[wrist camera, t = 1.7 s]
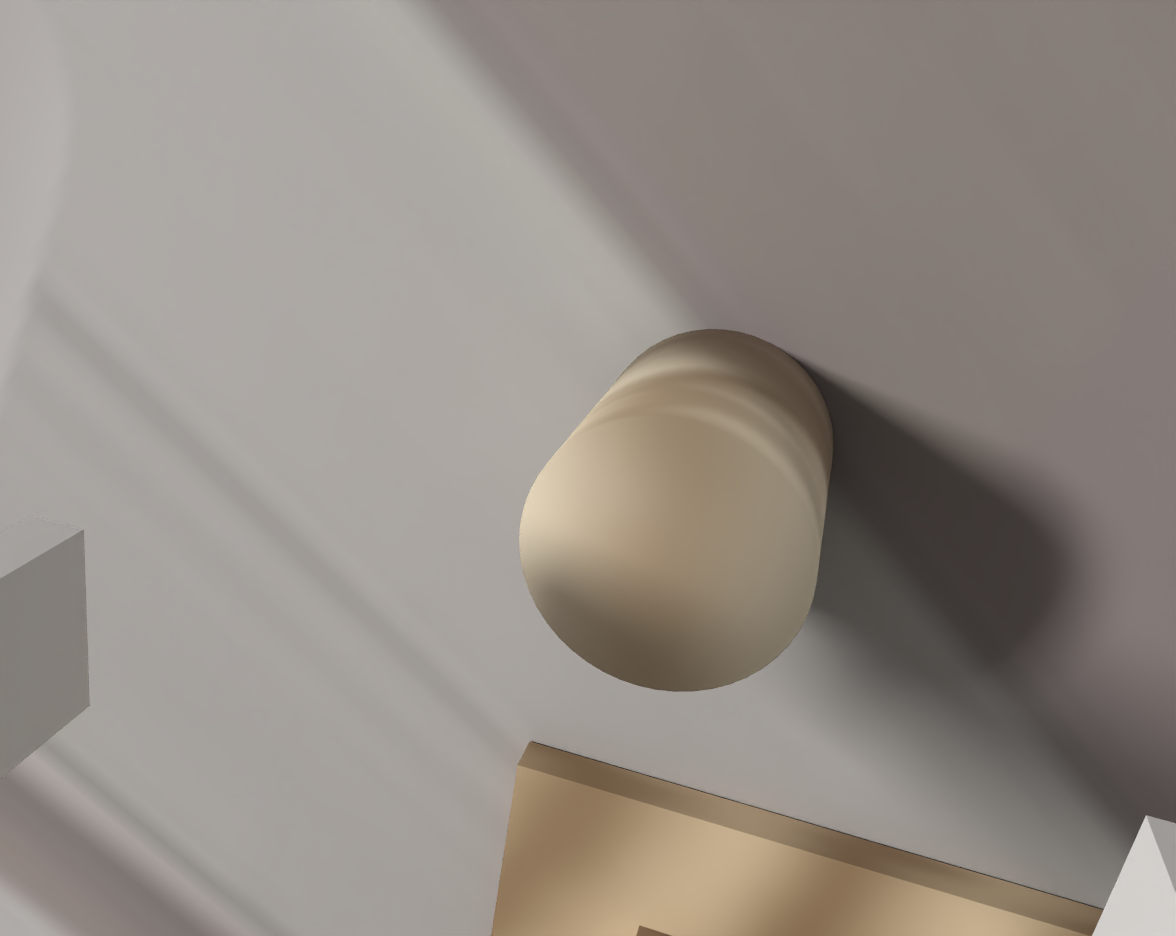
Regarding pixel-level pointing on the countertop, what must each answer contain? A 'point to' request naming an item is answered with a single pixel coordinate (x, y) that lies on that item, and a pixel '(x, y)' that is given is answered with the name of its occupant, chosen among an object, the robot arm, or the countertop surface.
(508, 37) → the countertop surface
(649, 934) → the walnut base block
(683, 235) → the countertop surface
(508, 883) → the light wood square board
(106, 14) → the countertop surface
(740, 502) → the oak cylinder
